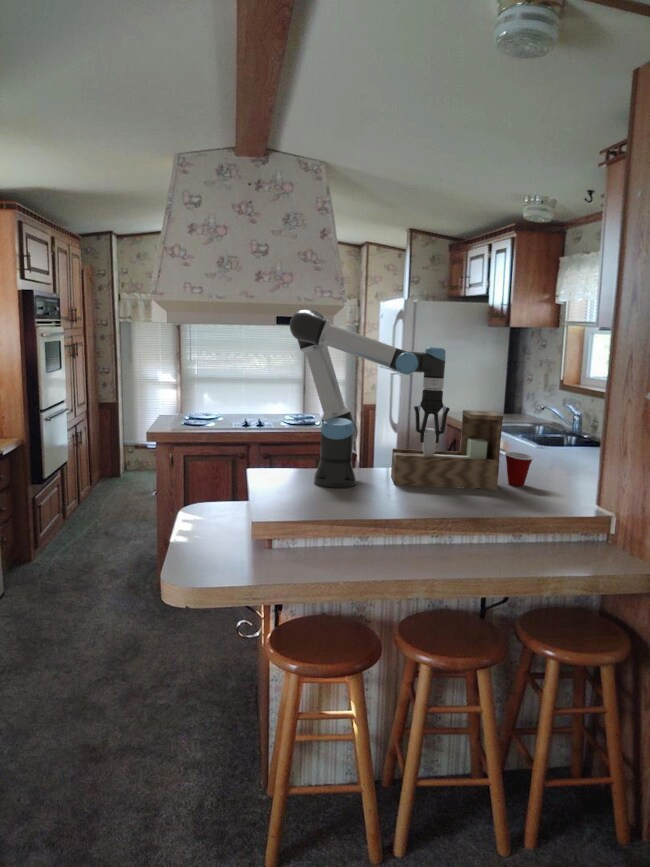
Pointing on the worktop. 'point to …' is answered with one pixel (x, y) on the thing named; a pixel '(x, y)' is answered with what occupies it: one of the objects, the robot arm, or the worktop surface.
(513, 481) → the plastic cup
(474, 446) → the tethered block
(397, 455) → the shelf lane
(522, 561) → the worktop surface
